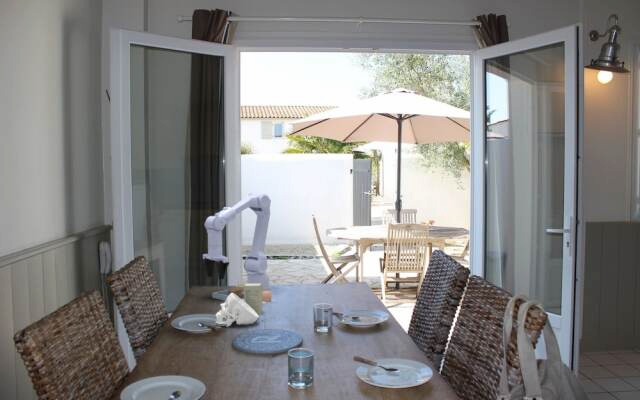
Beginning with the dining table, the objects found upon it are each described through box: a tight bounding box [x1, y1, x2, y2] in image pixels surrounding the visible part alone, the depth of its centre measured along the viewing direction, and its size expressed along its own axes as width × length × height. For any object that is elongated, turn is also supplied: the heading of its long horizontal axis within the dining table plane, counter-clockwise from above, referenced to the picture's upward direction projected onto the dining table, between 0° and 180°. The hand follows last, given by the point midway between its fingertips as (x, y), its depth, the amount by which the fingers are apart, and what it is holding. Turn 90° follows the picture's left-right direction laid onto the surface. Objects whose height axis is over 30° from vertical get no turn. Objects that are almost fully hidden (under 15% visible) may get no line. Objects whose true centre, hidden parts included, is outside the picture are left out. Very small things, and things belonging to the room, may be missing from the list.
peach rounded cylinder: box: [262, 289, 272, 303], centre depth 245 cm, size 4×4×4 cm
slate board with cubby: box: [211, 289, 278, 305], centre depth 249 cm, size 15×24×4 cm, turn 47°
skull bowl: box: [215, 293, 260, 327], centre depth 215 cm, size 10×14×12 cm
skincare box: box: [243, 283, 264, 315], centre depth 226 cm, size 6×4×12 cm
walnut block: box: [227, 287, 242, 299], centre depth 248 cm, size 4×4×4 cm
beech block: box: [234, 284, 245, 293], centre depth 257 cm, size 4×4×4 cm
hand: (215, 277), depth 249 cm, fingers open, 7 cm apart
